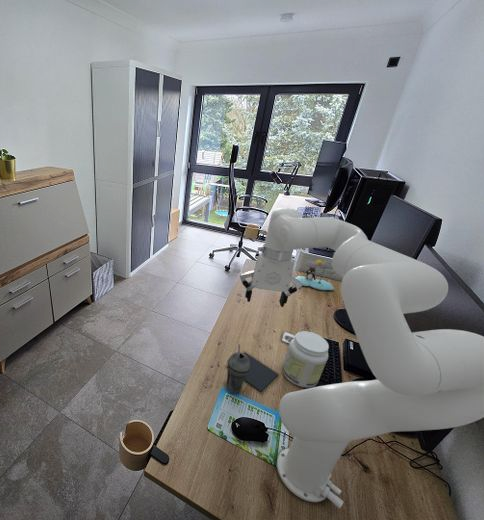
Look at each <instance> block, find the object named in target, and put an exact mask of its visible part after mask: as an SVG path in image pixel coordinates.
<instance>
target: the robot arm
mask: <svg viewBox="0 0 484 520" xmlns="http://www.w3.org/2000/svg"><path fill="white" fill-rule="evenodd" d="M265 235H266V236H265V239H264V240H265V241H264V243H263V245H261V246H258V247H257V252H259V254H258V256H257V259H256V261H255V264H254V267H253V270H250V271H246V272H243V273H240V274H239V278H240V281H241V284H242V285H243V286H244V288H245V289H246V290H245V294H244V297H245V298H246V301H247V303H250V302H251V299H252V295H253V289H259V290H266V291H273V292H281V293H280V296H279V300H278V303H279V305H280V307H281V308H284V307H285V304H287V303H288V298H289V297H291V295H292V294H294V293H296V292H298V291H299V289H300V288H301V287H303V286H302V283H301V281H299V280H297V279H296V277H294V276H293V274H294V273H293V272H294V262H295V261H294V258H293V257H292V256H293V252H294V250H302V249H303V250H304V249H315V248H318V249H319V248H326V249H327V248H328V249H331V250H333V251H335V252H334V253H333V255H332V259H331V263H332V268H333V270H334V271H335V274H337V275H338V276H339V277H341V278H342V280H341V284H340V293H341V298H342V301H343V305H344V307H345V311H346V313H347V316H348V319H349V321H350V324H351V327H352V329H353V331H354V334H355V336H356V339H357V342H358V343H359V347H360V350H361V352H362V355H363V357H364V359H365V362H366V364H367V366H368V368H369V369H370V371H371V373H372V375H373V376H374V377H375V379H372V380H354V381H345V382H339V383H331V384H325V385H319V386H314V387H310V388H304V389H300V390H296V391H291V392H287V393H285V394H284V395H283V396H282V397H281V399H280V401H279V404H278V414H279V418H280V421H281V423H282V425H283V427H284V428H285V429H286V430H287V432H288V433H289V434H291V436H293V439H292V441H291V443H290V446H289V447H288V448H285V449H283V450H282V451H280V453H279V454H278V456H277V460H276V469H277V473H278V476H279V478H280V480H281V481H282V483H283V484H284V485H285V487H286V488H287V489H288V490H289V491H290V492H291V493H292V494H293V495H294V496H296V497H297V498H300V499H301V500H304V501H306V502H309V503H319V502H322V501H324V500H326V499H328V500H329V501H330V502H331V503H332V504H333V505H335V507H337V508H338V509H341V508H342V506H343V504H344V500H342V499H341V498H340V495H341V493H342V489H340V488H339V487H338V486H337V485H335V484H334V483H333V481H332V480H331V477H332V472H333V470H334V468H335V466H336V465H337V462H338V461H339V459H340V457H341V456H342V455H343V453H344V451H345V449H346V448H347V447H348V445H349V444H350V443H351V442H353V441H359V440H363V439H367V438H368V439H369V438H373V437H377V436H381V435H385V434H388V433H395V432H419V431H434V430H445V429H446V430H447V429H453V428H456V427H462V426H466V425H469V424H472V423H475V422H477V421H479V420H481V419H483V418H484V336H483V335H481V334H478V333H475V332H471V331H467V330H460V329H452V328H451V329H450V328H447V329H446V328H444V329H443V328H442V329H440V328H439V329H430V330H423V331H422V330H421V331H413V332H412V331H411V328H410V327H409V324H408V322H407V320H406V317H405V314H406V315H407V314H415V313H420V312H425V311H429V310H430V309H432V308H435V307H436V306H438V305H440V304H441V303H442V302H443V301H444V300H445V299H446V297H447V295H448V293H449V283H448V281H447V279H446V277H445V275H443V273H441V272H440V271H439V270H438V269H436V268H434V267H433V266H431V265H429V264H427V263H425V262H423V261H420V260H417V259H415V258H413V257H411V256H408V255H405V254H403V253H401V252H398V251H396V250H393V249H391V248H388V247H386V246H384V245H381V244H379V243H376V242H374V241H372V240H369V239H368V236H367V235H366V234H365V233H364V231H363V229H361V228H360V227H358V226H357V225H354V224H352V223H350V222H348V221H344V220H342V219H338V218H335V217H332V216H331V217H329V216H316V217H315V216H314V217H303V214H302V212H301V211H299V210H297V209H294V208H290V207H278V208H275V209H273V210H272V212H271V215H270V219H269V222H268V227H267V231H266V234H265ZM247 278H251V280H250V281H247ZM291 283H292V284H293V285H291ZM331 490H332V491H333V492H334V493H333V492H332V491H331Z"/></svg>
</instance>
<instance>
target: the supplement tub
mask: <svg viewBox="0 0 484 520" xmlns="http://www.w3.org/2000/svg"><path fill="white" fill-rule="evenodd" d="M294 335H295V337H294V339H292V340H291V342H290V344H288V347H287V350H286V354H285V357H284V360H283V363H282V366H281V369H282V373H283V375H284V377H285V379H287V380H288V381H289V382H290V383H291V384H293V385H295V386H298V387H299V388H304V389H309V388H313V387H316V386H317V385H318V384H319V381H320V378H321V376H322V374H323V371H324V369H325V366H326V364H327V361H328V360H329V348H330V346H329V345H330V344H329V342H328V341H327V340H326V339H325V338H324V337H322V336H321V335H319V334H317V333H315V332H312V331H307V330H306V331H305V330H303V331H302V330H301V331H298V332H297V333H296V334H294Z"/></svg>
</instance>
